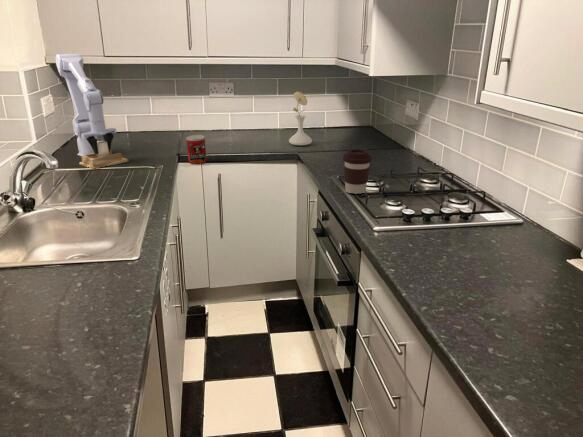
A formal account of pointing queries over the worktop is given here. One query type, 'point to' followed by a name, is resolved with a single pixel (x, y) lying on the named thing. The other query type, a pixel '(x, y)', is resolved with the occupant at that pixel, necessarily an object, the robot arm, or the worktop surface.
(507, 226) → the worktop surface
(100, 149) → the paper roll
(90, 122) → the robot arm
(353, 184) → the coffee cup
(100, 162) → the clip holder
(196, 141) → the canned food
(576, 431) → the worktop surface
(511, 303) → the worktop surface
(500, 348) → the worktop surface
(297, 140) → the flower in vase
